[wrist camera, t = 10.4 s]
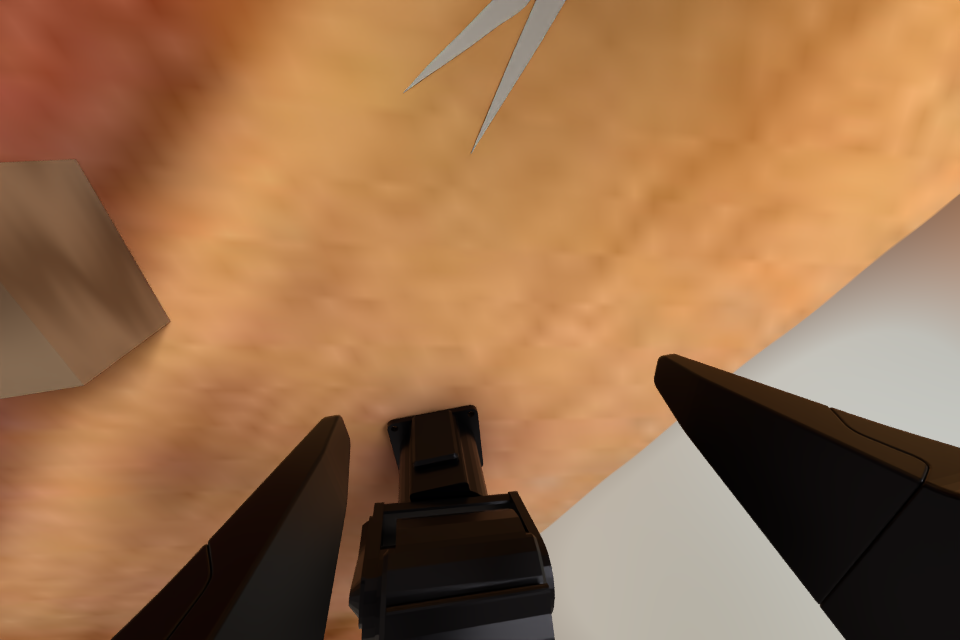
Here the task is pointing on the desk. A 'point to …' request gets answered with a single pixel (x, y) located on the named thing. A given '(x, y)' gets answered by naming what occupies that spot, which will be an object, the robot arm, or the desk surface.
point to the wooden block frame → (64, 282)
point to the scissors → (540, 19)
